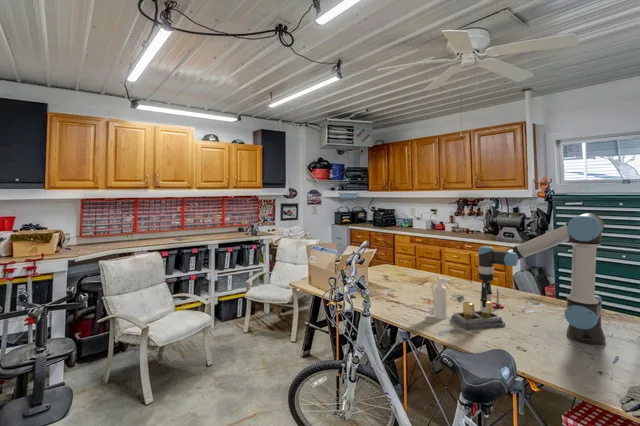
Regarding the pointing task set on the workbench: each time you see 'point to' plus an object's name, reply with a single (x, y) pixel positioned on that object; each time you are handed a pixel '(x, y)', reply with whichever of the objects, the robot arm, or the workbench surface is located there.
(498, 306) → the tow hook
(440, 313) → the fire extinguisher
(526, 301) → the workbench surface
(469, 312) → the housing
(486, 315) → the sleeve
